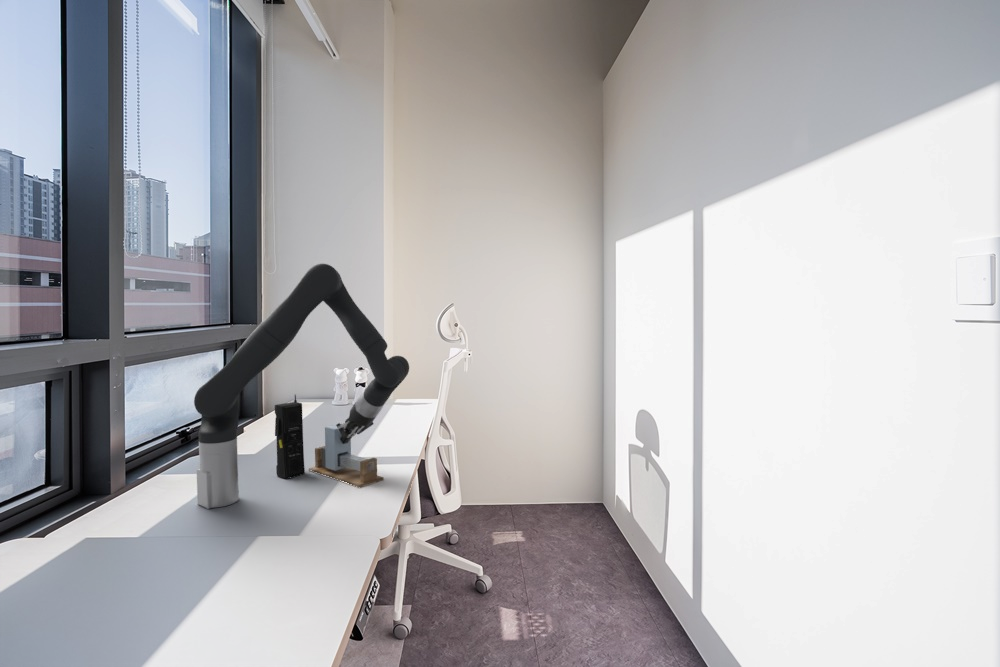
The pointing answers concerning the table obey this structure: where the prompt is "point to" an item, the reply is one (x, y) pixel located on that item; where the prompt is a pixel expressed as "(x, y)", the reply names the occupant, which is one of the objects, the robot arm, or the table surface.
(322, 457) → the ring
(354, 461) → the white long bar
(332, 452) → the sleeve
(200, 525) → the table surface
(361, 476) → the stand
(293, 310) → the robot arm
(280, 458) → the portable radio
